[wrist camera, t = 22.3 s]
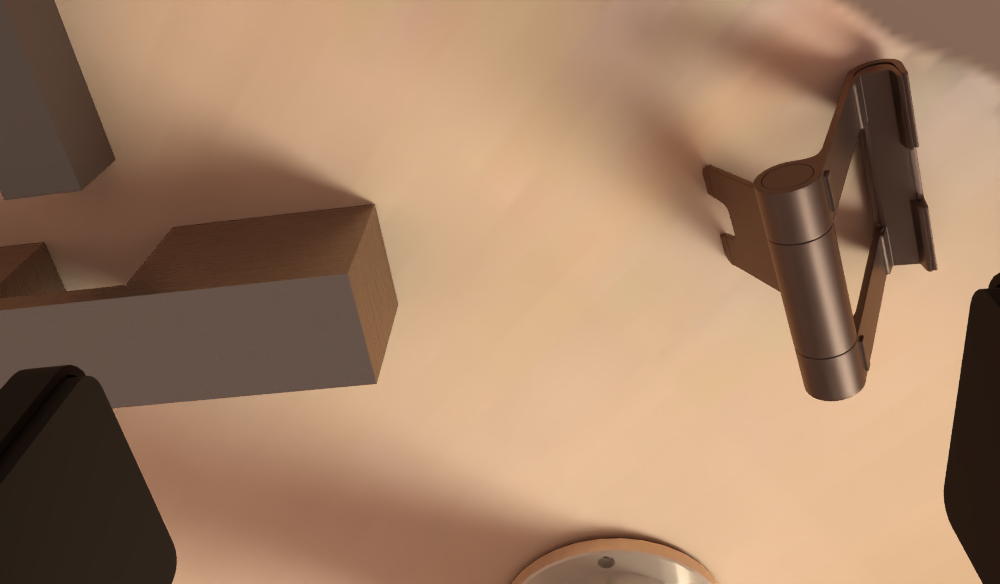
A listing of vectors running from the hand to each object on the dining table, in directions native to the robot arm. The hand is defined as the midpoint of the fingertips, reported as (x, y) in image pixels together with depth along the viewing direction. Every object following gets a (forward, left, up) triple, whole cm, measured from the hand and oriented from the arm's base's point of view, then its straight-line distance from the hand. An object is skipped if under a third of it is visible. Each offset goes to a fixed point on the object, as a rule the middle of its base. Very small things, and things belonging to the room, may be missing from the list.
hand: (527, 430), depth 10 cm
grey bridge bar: (-11, +20, -26) cm, 35 cm away
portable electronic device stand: (-10, -10, -27) cm, 30 cm away
